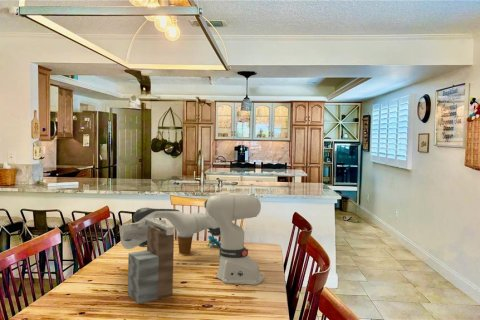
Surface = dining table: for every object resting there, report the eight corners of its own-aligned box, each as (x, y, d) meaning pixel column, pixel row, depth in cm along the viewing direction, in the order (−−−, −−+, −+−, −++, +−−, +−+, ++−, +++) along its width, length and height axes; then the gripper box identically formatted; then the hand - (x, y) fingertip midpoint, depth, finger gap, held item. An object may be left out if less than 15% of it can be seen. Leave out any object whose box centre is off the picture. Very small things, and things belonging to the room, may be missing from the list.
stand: (127, 294, 149) (129, 227, 148) (160, 286, 158) (161, 223, 157) (138, 303, 141) (140, 233, 140) (172, 295, 150) (174, 228, 149)
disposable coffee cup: (172, 252, 209) (173, 232, 209) (184, 249, 217) (184, 229, 216) (185, 256, 204) (185, 234, 203) (196, 252, 211) (197, 231, 211)
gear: (225, 245, 221) (214, 235, 218) (219, 253, 219) (208, 243, 215) (216, 244, 230) (206, 233, 227) (210, 251, 228) (200, 241, 224)
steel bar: (143, 225, 161) (143, 218, 161) (150, 224, 163) (150, 217, 163) (166, 235, 144) (166, 227, 143) (173, 234, 145) (173, 226, 145)
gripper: (161, 235, 174) (173, 226, 164) (118, 241, 161) (129, 231, 151) (158, 223, 176) (170, 212, 166) (116, 227, 163) (126, 217, 154)
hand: (150, 221), depth 159 cm, fingers closed on steel bar, 3 cm apart
